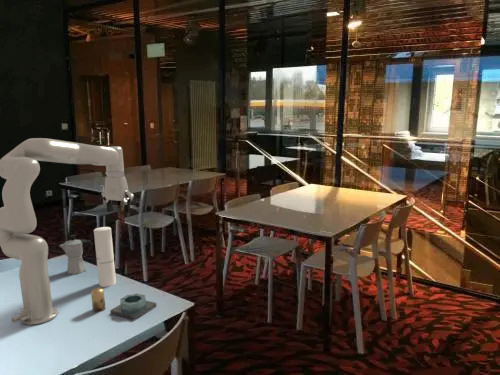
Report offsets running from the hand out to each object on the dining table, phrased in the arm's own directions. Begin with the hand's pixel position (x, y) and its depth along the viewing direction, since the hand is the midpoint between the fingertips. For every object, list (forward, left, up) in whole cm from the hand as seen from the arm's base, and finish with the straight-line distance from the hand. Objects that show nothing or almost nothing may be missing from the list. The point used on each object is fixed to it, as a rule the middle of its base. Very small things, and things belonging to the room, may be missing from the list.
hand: (118, 212), depth 192 cm
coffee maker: (-4, +26, -31) cm, 40 cm away
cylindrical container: (-10, +1, -31) cm, 32 cm away
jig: (-25, -28, -30) cm, 48 cm away
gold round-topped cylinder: (-30, -15, -31) cm, 45 cm away
